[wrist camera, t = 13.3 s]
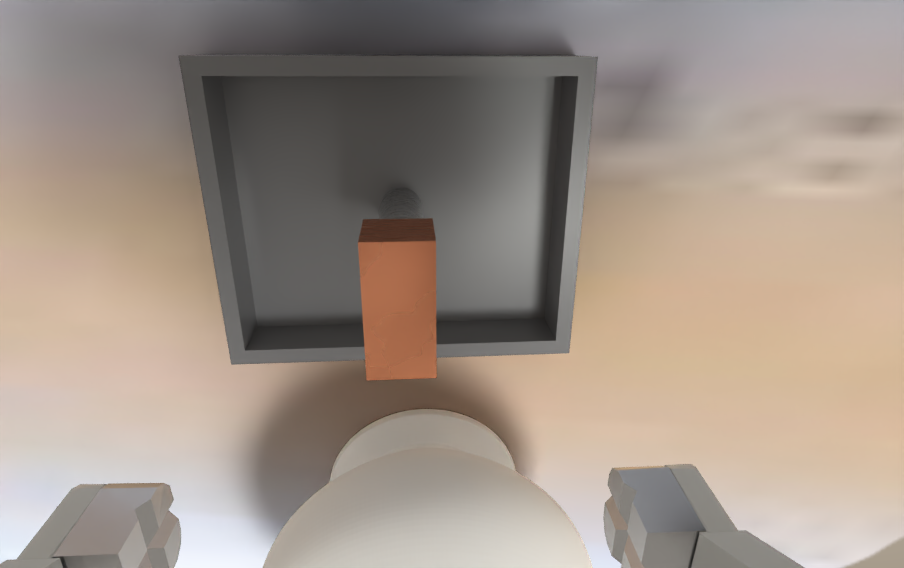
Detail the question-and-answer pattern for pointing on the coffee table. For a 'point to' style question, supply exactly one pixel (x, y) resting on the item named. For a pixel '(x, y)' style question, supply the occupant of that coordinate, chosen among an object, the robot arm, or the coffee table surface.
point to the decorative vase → (428, 504)
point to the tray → (381, 170)
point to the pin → (399, 289)
